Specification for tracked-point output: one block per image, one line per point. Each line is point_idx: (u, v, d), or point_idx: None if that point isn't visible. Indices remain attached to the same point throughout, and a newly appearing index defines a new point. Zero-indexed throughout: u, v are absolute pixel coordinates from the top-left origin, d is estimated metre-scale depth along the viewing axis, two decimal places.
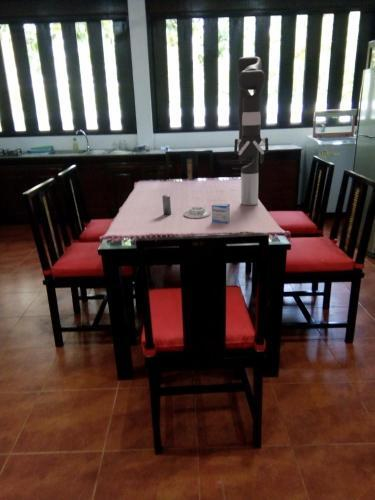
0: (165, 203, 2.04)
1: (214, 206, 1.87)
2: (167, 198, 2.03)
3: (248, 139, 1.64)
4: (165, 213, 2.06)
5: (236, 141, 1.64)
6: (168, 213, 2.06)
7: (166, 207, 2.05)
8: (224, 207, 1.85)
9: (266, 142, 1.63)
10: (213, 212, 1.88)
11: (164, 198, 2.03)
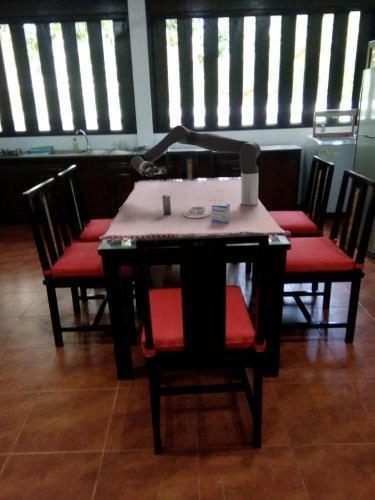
0: (165, 203, 2.04)
1: (214, 206, 1.87)
2: (167, 198, 2.03)
3: None
4: (165, 213, 2.06)
5: (162, 171, 2.20)
6: (168, 213, 2.06)
7: (166, 207, 2.05)
8: (224, 207, 1.85)
9: None
10: (213, 212, 1.88)
11: (164, 198, 2.03)
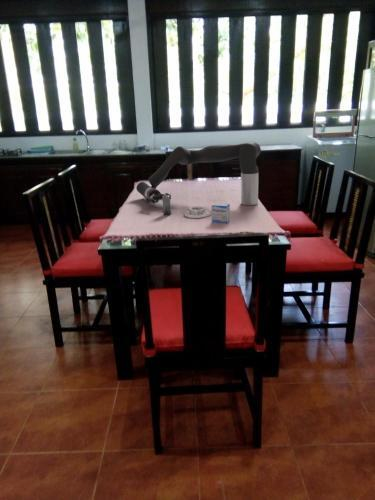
0: (165, 203, 2.04)
1: (214, 206, 1.87)
2: (167, 198, 2.03)
3: None
4: (165, 213, 2.06)
5: None
6: (168, 213, 2.06)
7: (166, 207, 2.05)
8: (224, 207, 1.85)
9: None
10: (213, 212, 1.88)
11: (164, 198, 2.03)
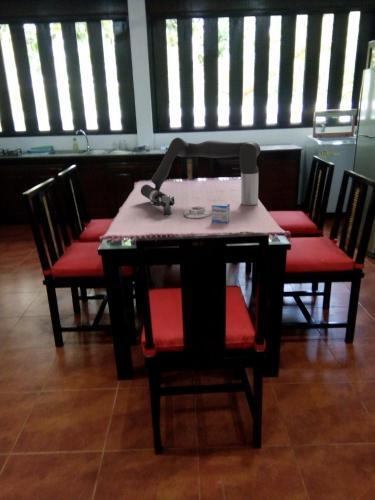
0: (165, 203, 2.04)
1: (214, 206, 1.87)
2: (167, 198, 2.03)
3: None
4: (165, 213, 2.06)
5: None
6: (168, 213, 2.06)
7: (166, 207, 2.05)
8: (224, 207, 1.85)
9: None
10: (213, 212, 1.88)
11: (164, 198, 2.03)
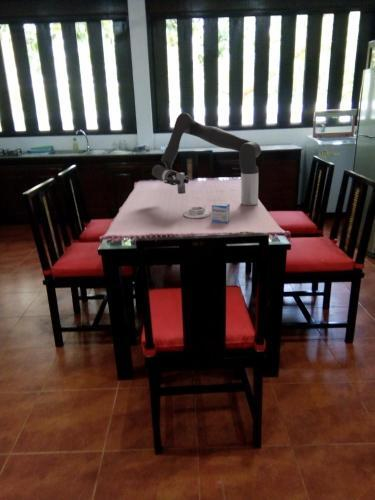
0: (179, 181, 1.98)
1: (214, 206, 1.87)
2: (182, 175, 1.97)
3: None
4: (179, 191, 2.00)
5: None
6: (182, 191, 2.00)
7: (180, 185, 1.98)
8: (224, 207, 1.85)
9: None
10: (213, 212, 1.88)
11: (179, 175, 1.97)
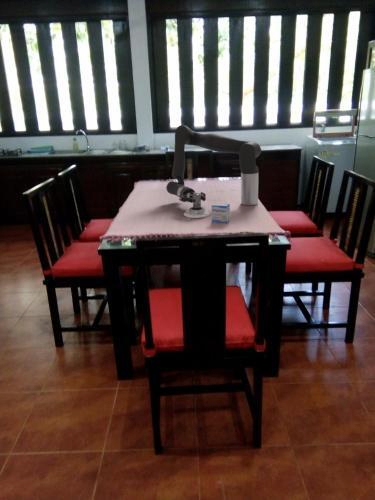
0: (196, 202, 2.00)
1: (214, 206, 1.87)
2: (198, 197, 1.99)
3: None
4: None
5: None
6: None
7: (196, 206, 2.01)
8: (224, 207, 1.85)
9: None
10: (213, 212, 1.88)
11: (195, 196, 1.99)
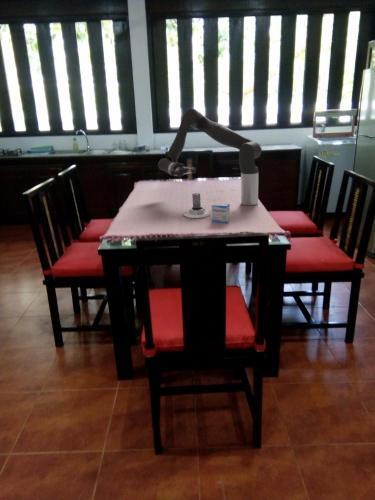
0: (195, 201, 2.00)
1: (214, 206, 1.87)
2: (197, 196, 2.00)
3: None
4: None
5: None
6: None
7: (196, 205, 2.01)
8: (224, 207, 1.85)
9: (171, 174, 2.13)
10: (213, 212, 1.88)
11: (195, 196, 1.99)
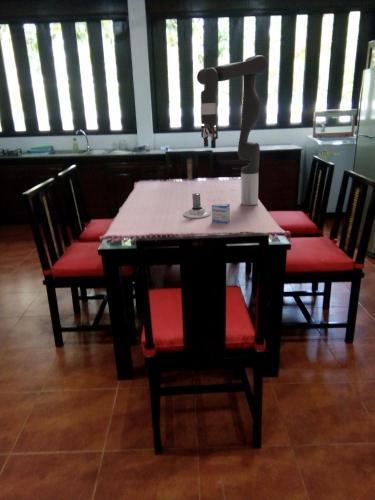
0: (195, 201, 2.00)
1: (214, 206, 1.87)
2: (197, 196, 2.00)
3: (206, 126, 1.94)
4: None
5: (201, 127, 1.99)
6: None
7: (196, 205, 2.01)
8: (224, 207, 1.85)
9: (212, 130, 1.88)
10: (213, 212, 1.88)
11: (195, 196, 1.99)
